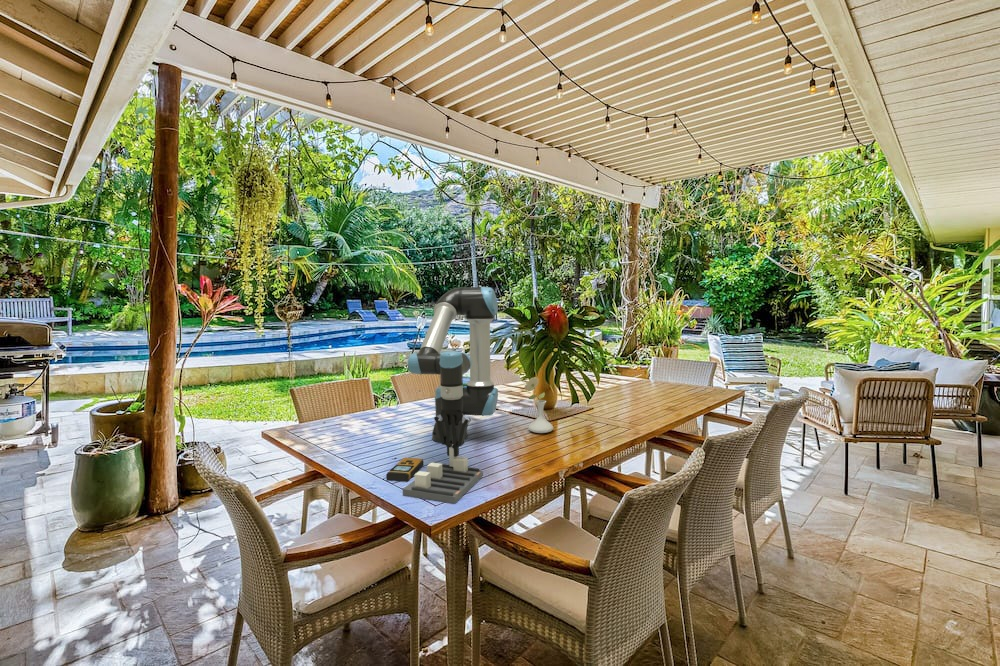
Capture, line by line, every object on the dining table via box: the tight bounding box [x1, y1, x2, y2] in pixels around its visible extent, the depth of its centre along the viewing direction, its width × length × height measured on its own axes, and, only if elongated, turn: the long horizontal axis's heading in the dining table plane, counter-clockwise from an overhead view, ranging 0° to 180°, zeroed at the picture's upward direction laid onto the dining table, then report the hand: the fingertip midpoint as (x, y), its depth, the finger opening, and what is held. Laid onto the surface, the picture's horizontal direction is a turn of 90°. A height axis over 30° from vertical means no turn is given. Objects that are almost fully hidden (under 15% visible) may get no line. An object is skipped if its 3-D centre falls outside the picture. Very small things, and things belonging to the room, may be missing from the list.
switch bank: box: [402, 463, 484, 505], centre depth 157 cm, size 22×18×3 cm
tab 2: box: [426, 462, 443, 479], centre depth 158 cm, size 3×4×4 cm
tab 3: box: [453, 455, 469, 472], centre depth 163 cm, size 3×4×4 cm
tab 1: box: [414, 470, 431, 489], centre depth 150 cm, size 3×4×4 cm
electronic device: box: [385, 457, 424, 483], centre depth 169 cm, size 8×16×3 cm, turn 169°
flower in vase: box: [524, 376, 554, 434], centre depth 214 cm, size 13×11×25 cm
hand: (453, 465), depth 164 cm, fingers closed
